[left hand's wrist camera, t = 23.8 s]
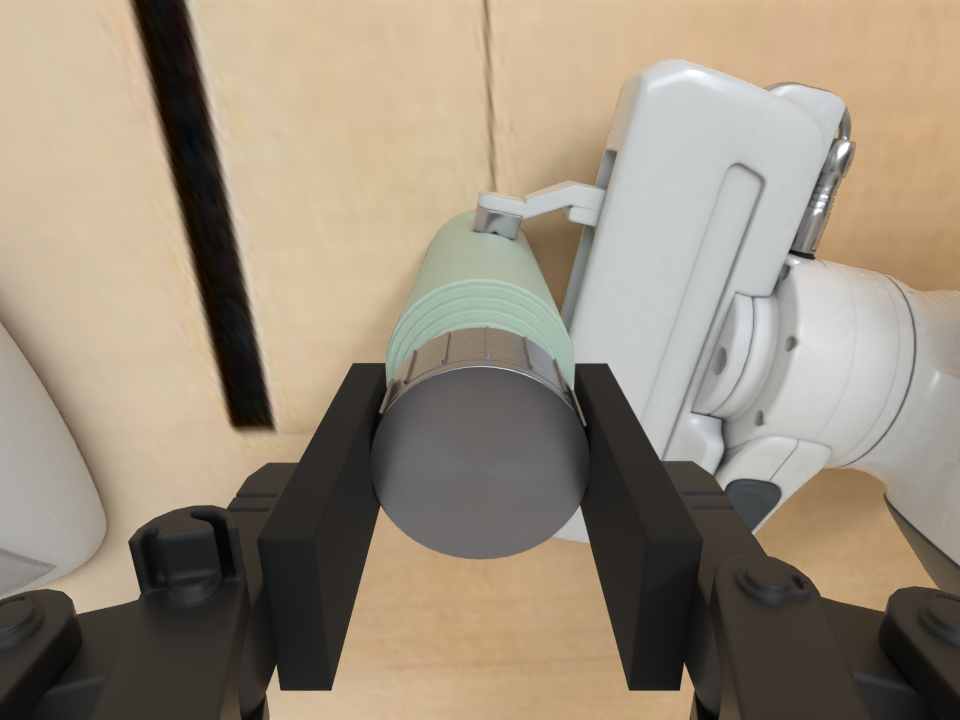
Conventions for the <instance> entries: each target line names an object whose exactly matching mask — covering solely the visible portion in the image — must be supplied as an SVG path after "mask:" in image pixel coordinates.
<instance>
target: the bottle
mask: <svg viewBox="0 0 960 720" xmlns="http://www.w3.org/2000/svg"><path fill="white" fill-rule="evenodd" d="M475 212H476V211H473V212H468V213H464V214H461V215H459V216H457V217H455V218H453V219H452V220H450V221H448V222H447V223H446V224H445V225H444V226H443V227H442V228H441V229H440V230H439V231H438V233H437V234H436V236H435V237H434V239H433V241H432V243H431V245H430V248H429V250H428V252H427V255H426V257H425V259H424V261H423V264H422V266H421V268H420V271H419V273H418V275H417V278H416V280H415V282H414V285H413V287H412V289H411V292H410V294H409V296H408V298H407V301H406V303H405V305H404V308H403V310H402V312H401V315H400V317H399V319H398V322H397V324H396V326H395V328H394V331H393V333H392V336H391V339H390V342H389V345H388V350H387V355H386V377H387V382H388V385H389V382H390V380H391V378H393V379H394V377H395V375H396V373H397V372H398V370H399V369H400V367H401V366H402V364H403V363H404V362H405V361H406V360H407V359H408V357H409V356H410V355H411V354H412V351H413V350H414V349H415V350H417V349H418V348H419V347H421V346H422V345H424V344H425V343H427V342H428V341H430V340H432V339H434V338H436V337H438V336H440V335H442V334H445V333H446V332H447V331H450V332H452V331H455V330H460V329H465V328H478V327H483V328H486V326H487V327H489V328H495V329H501V330H506V331H509V332H512V333H515V334H518V335H520V336H522V337H524V336H526V337H528V339H529V340H531V341H532V342H534V343H535V344H537V345H538V346H540V347H541V348H542V349H544V350H545V351H546V352H547V353H548V354H549V355H550V356H551V357H552V358H553V359H555V358H556V359H557V360H558V363H559V366H560V368H561V369H562V371H563V373H564V374H565V376H566V378H567V380H568V383H569V385H570V388H572V385H573V379H574V370H575V361H574V352H573V348H572V344H571V340H570V337H569V335H568V333H567V330H566V328H565V325H564V323H563V321H562V319H561V316H560V314H559V312H558V309H557V307H556V305H555V302H554V300H553V298H552V295H551V293H550V291H549V288H548V286H547V284H546V282H545V279H544V277H543V275H542V272H541V270H540V268H539V265H538V263H537V261H536V258H535V256H534V254H533V252H532V249H531V247H530V245H529V242H528V240H527V238H526V237H525V235H524V233H523V232H522V231H521V230H520V228H519V231H518V235H517V239H516V240H514V239H509V238H505V237H502V236H499V235H498V234H497V233H496V232H493V233H491V234H489V233H481V232H478V231H475V230H473V223H474V218H475Z"/></svg>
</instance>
